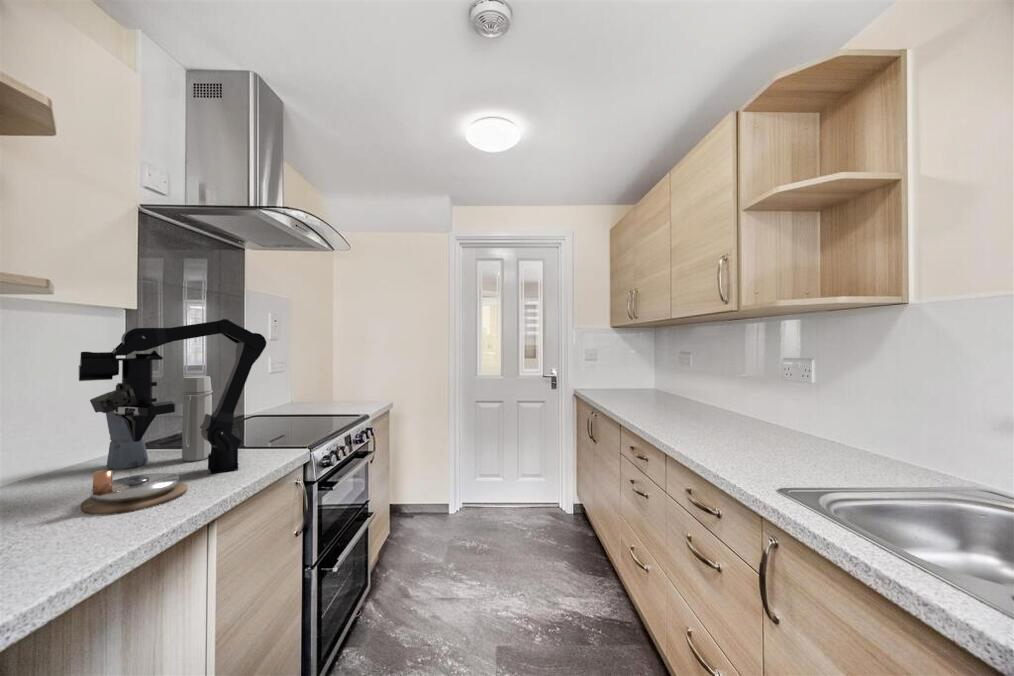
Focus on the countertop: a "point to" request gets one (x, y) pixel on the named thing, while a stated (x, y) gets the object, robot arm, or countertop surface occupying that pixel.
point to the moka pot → (123, 445)
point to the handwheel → (130, 486)
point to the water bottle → (195, 417)
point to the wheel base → (132, 502)
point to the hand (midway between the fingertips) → (136, 441)
